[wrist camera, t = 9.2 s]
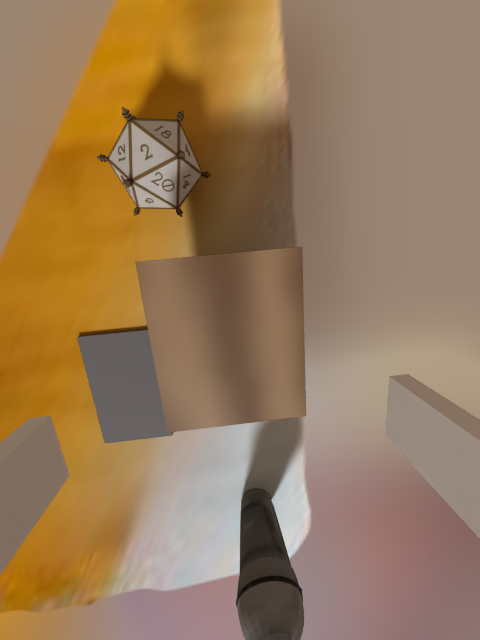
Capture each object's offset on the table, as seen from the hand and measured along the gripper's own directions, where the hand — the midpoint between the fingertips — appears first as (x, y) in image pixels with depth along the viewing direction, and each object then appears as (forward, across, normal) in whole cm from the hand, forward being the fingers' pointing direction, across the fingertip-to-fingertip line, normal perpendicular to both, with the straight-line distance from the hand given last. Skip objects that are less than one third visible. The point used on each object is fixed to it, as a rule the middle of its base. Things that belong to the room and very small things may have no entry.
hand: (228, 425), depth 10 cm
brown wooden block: (+15, 0, 0) cm, 15 cm away
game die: (+22, -5, +15) cm, 27 cm away
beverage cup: (+22, +2, -30) cm, 37 cm away
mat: (+22, -13, -9) cm, 27 cm away
